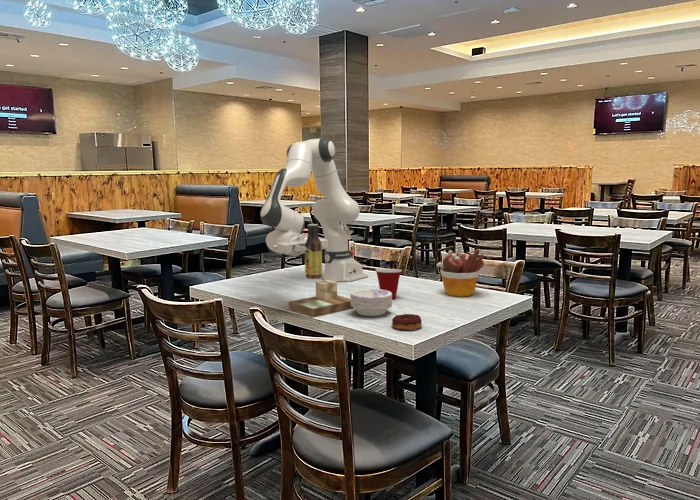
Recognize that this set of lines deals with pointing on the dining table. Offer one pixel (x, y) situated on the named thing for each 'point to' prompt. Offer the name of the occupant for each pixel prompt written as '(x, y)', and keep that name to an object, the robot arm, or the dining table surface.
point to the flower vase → (346, 230)
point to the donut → (406, 322)
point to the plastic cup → (389, 280)
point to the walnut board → (320, 306)
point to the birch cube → (326, 289)
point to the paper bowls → (371, 301)
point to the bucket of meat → (460, 273)
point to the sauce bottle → (313, 253)
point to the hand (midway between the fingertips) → (314, 248)
